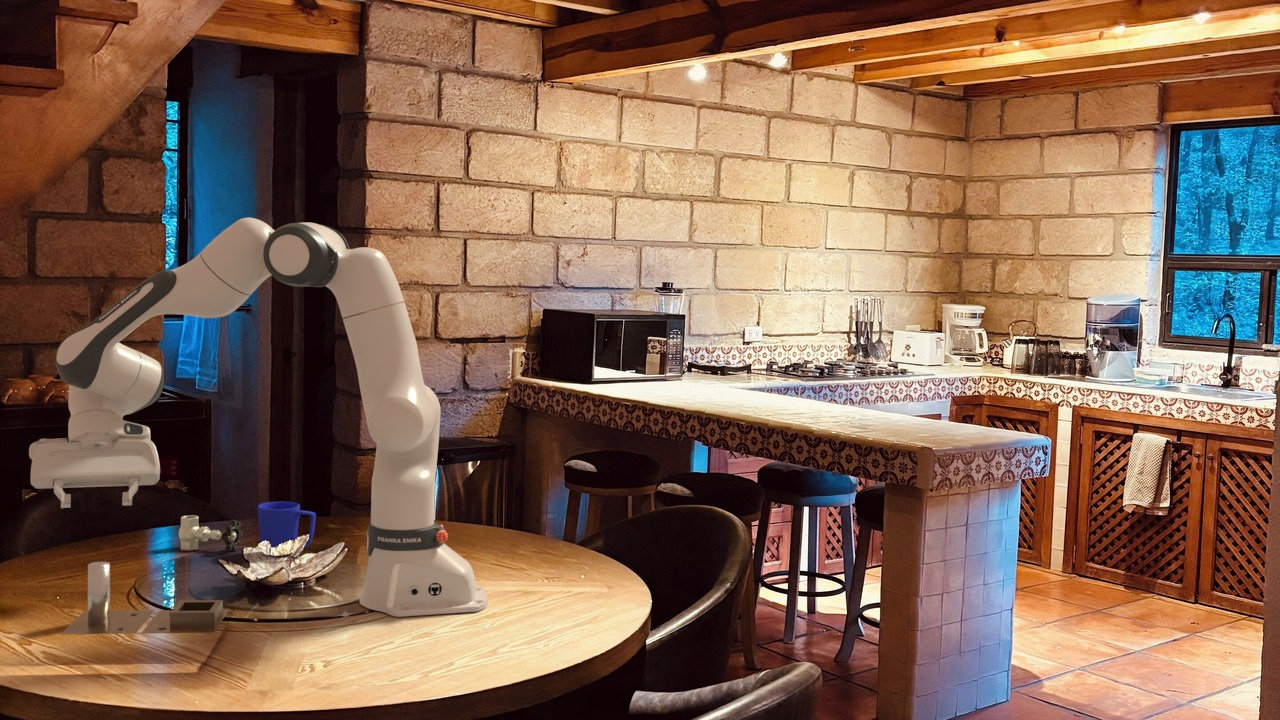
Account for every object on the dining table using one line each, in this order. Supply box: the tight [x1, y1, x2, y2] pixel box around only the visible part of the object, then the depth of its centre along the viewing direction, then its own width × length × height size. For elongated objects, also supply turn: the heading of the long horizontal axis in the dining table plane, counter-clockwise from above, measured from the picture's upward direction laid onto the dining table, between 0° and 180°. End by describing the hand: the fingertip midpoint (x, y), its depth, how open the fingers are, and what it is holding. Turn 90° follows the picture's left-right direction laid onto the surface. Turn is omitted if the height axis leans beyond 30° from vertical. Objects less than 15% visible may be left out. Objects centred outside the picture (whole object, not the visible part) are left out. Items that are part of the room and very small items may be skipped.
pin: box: [87, 561, 111, 625], centre depth 188 cm, size 3×3×9 cm
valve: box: [178, 514, 244, 553], centre depth 241 cm, size 7×7×12 cm
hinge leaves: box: [60, 599, 229, 635], centre depth 190 cm, size 23×12×4 cm, turn 99°
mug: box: [257, 501, 317, 549], centre depth 239 cm, size 8×12×10 cm
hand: (96, 504), depth 199 cm, fingers open, 8 cm apart
